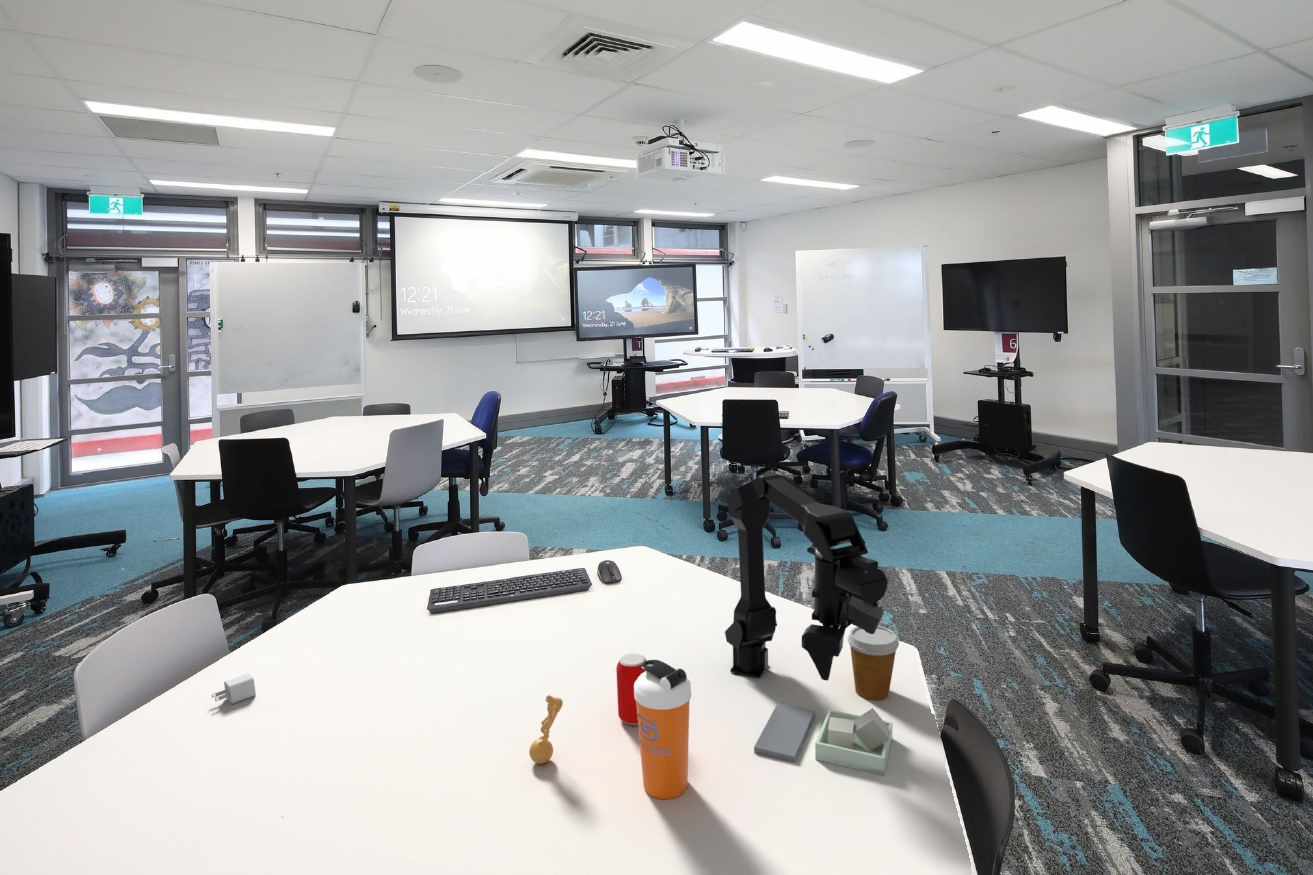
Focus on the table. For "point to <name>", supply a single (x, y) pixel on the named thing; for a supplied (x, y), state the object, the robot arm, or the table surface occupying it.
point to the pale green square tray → (859, 755)
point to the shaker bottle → (663, 728)
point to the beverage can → (628, 686)
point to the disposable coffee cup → (873, 661)
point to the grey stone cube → (871, 729)
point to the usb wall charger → (237, 689)
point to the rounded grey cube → (841, 732)
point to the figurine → (545, 733)
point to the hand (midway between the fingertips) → (830, 667)
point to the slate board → (784, 732)
